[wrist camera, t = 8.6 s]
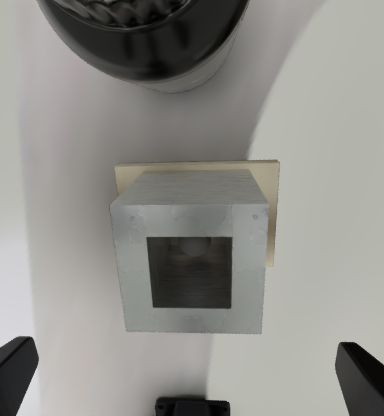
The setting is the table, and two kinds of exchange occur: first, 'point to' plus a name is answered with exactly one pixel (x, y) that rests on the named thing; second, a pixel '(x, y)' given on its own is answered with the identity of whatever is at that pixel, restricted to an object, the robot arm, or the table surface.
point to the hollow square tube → (185, 264)
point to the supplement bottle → (149, 37)
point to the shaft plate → (260, 169)
